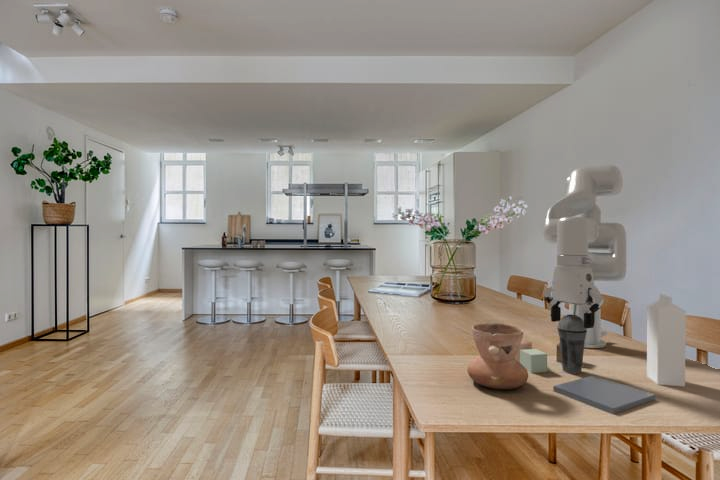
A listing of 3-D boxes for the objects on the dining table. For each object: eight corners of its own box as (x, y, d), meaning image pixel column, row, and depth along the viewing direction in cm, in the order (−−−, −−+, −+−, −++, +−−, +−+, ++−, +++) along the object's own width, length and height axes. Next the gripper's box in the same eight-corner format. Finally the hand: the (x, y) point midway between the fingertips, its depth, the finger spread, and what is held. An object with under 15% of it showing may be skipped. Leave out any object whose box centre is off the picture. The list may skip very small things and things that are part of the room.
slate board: (594, 379, 103) (594, 375, 103) (655, 399, 90) (655, 394, 90) (553, 390, 95) (553, 385, 95) (613, 414, 83) (613, 408, 83)
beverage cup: (551, 367, 113) (551, 296, 112) (576, 366, 113) (576, 296, 113) (567, 376, 105) (567, 301, 105) (593, 375, 106) (593, 300, 106)
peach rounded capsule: (519, 358, 121) (519, 338, 121) (536, 363, 116) (536, 343, 116) (505, 360, 119) (505, 340, 118) (522, 366, 113) (522, 345, 113)
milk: (657, 385, 99) (657, 297, 99) (646, 376, 105) (646, 293, 105) (685, 387, 98) (685, 297, 98) (673, 378, 104) (673, 294, 104)
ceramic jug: (526, 401, 89) (527, 338, 89) (461, 390, 95) (461, 332, 95) (529, 376, 106) (529, 322, 106) (473, 368, 112) (473, 318, 112)
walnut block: (561, 358, 121) (561, 341, 121) (579, 361, 118) (579, 344, 118) (556, 361, 118) (556, 345, 118) (575, 365, 114) (575, 348, 114)
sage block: (535, 366, 114) (535, 348, 114) (547, 371, 109) (547, 353, 109) (520, 367, 113) (520, 349, 113) (531, 373, 108) (531, 354, 108)
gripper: (612, 263, 103) (612, 329, 103) (553, 260, 118) (552, 318, 118) (594, 263, 100) (594, 332, 99) (536, 260, 115) (535, 319, 115)
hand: (571, 324), depth 109 cm, fingers open, 9 cm apart
